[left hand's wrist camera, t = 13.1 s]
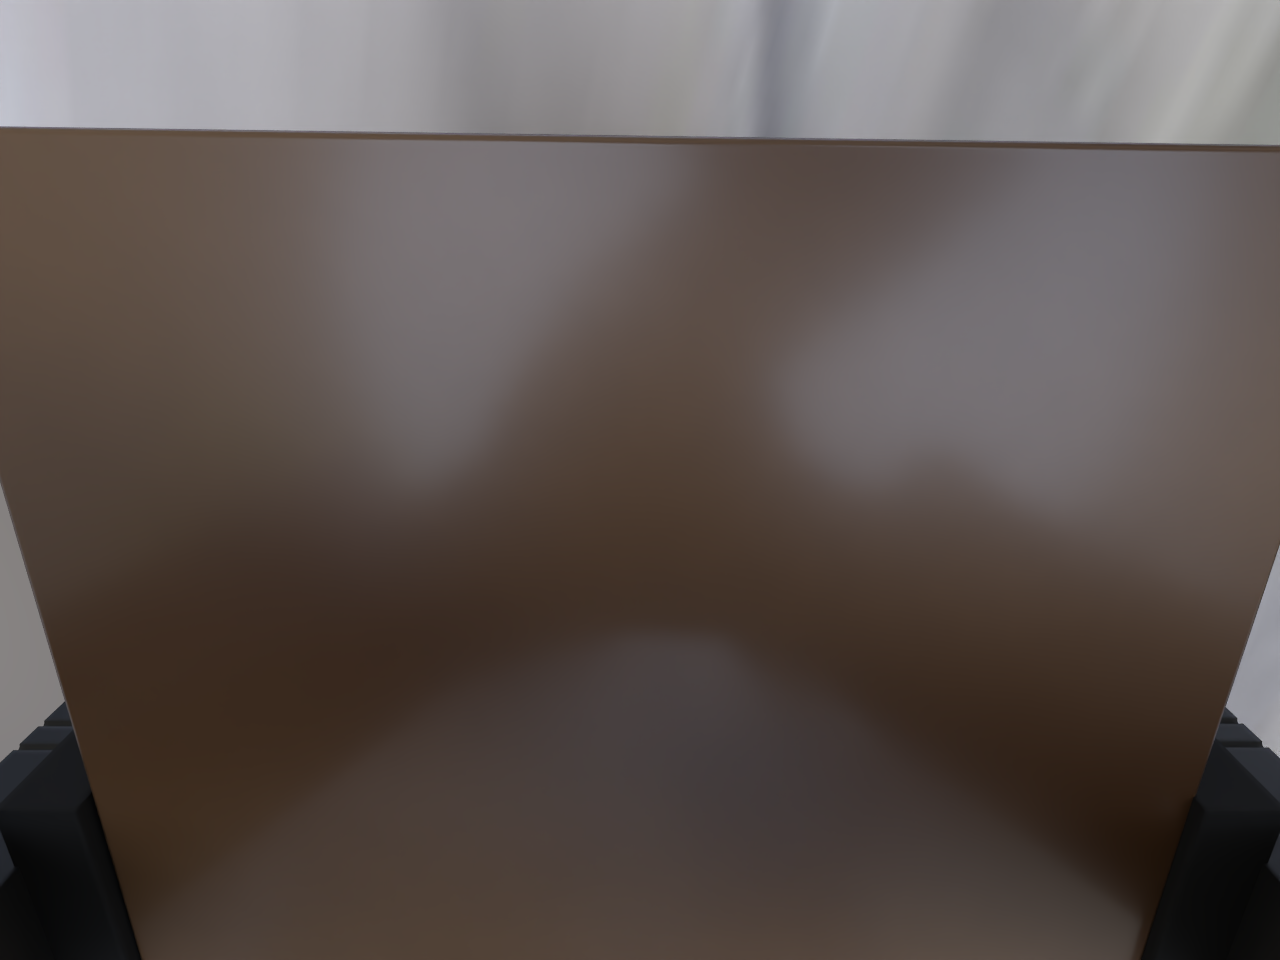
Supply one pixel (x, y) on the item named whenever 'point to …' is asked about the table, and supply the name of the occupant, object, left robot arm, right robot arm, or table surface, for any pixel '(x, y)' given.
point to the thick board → (640, 531)
